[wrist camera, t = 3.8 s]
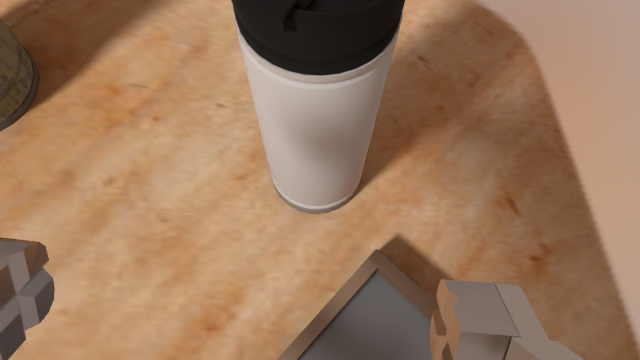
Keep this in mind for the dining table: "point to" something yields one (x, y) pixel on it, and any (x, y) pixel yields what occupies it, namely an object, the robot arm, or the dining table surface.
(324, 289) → the dining table surface
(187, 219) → the dining table surface
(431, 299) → the square tray
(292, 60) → the travel mug
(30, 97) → the thermos
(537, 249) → the dining table surface
